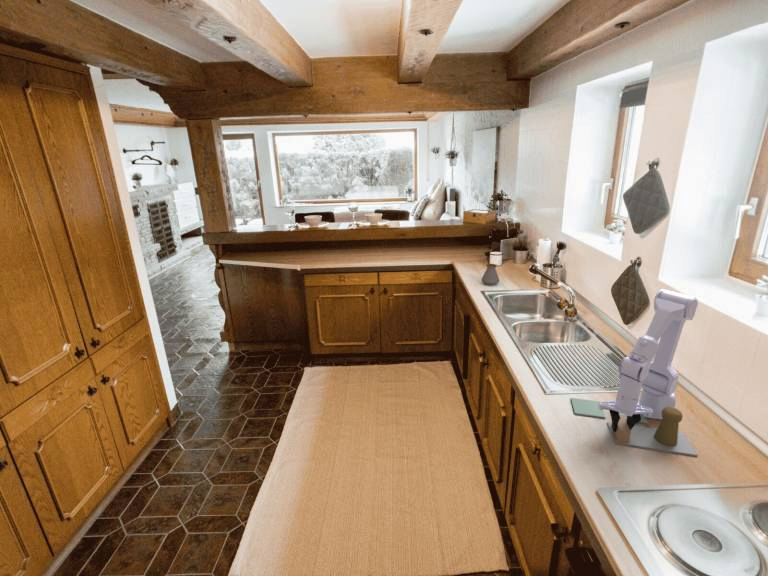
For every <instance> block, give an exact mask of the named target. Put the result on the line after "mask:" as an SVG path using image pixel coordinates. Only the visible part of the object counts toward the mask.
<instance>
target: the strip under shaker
mask: <svg viewBox="0 0 768 576" xmlns="http://www.w3.org/2000/svg"><path fill="white" fill-rule="evenodd" d="M619 416H620V420H619V422H618V425H617V430H616V432H614V431H613V429H612V421H609V422H608V421H607V422H606V425H607V427H608V430H609V433H610V436H611V438H612V441H613V443H614V445H618V446H625V447H632V448H638V449H645V450H651V451H658V452H665V453H670V454H678V455H684V456H691V457H698V452H696V450H695V448H694V446H693V445H692V443H691V442H690V440H689V438H688V437H687V436H686V434H685V432H682V431H678V438H677V445H676V446H666V445H663V444H661V443H659V442H658V441H656V440H655V438H654V434H655V432H656V430H657V428H653V427H646V426H640V425H639V426H638V425H635V426H634V427H633V428H632V429H631V431H630V428H629V426H628V424H627V422H626V419H625V417H624V416H623V415H619Z"/></svg>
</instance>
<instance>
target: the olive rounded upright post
mask: <svg viewBox="0 0 768 576" xmlns="http://www.w3.org/2000/svg"><path fill="white" fill-rule="evenodd" d="M683 417H684V416H683V413H682V411H680V410H679V409H678V408H675V407H674V408H673V407H665V408H664V409H663V410H662V420H661V419H660V422H659V424H658V426H657V428H656V429H657V430H656V432H655V434H654V438H655V440H656V441H658V442H659V443H661V444H663V445H666V446H676V445H677V438H678V432H679V423H681V421H682V420H683Z"/></svg>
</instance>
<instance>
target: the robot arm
mask: <svg viewBox="0 0 768 576" xmlns="http://www.w3.org/2000/svg"><path fill="white" fill-rule="evenodd" d="M698 304H699V303H698V299H697V297H696V296H693V295H692V296H691V295H687V294H683V293H679V292H676V291H672V290H667V289H665V288H661V289H660V290H658V291H657V293H656V294H655V296H654V299H653V310H654V315H653V317H652V319H651V321H650V324H649V326H648V327H647V328H648V329H647V330H646V332H645V335H643V336H639V337H638V339H637V340H636V342H635V344H634V345H633V347H632V349H631V350H630V351H629V354H628V356H625V357H623V358H622V359H621V361H620V363H619V364H618V365H619V366H618V369H617V370H618V379H619V383H618V388H617V393H616V398H615V400H612V401H611V400H609V401H607V400H606V401H601V400H599V405H598V407H599V409H600V410H603V411H604V410H605V411H606V410H607V411H609V414H610V419H611V423H612V429H613V431H614V432H616V430H617V425H618V422H619V420H620V416H619V412H621V413H624V414H625V415H626V416H627V420H626V422H627V424H628V426H629V428H630V431H631V429H632V428H633V427H634V426H637V425H636V424H639V423H638V422H640V421H641V416H643V415H644V417H645V419H654V420H660V421H661V420H662V410H663V409H664V408H665V407H673V408H675V407H676V400H677V399H676V395H675V391H676V389H677V386H678V380H679V373H678V371H676V369H675V368H674V367H673V366H672V364H673V360H674V356H675V353H676V351H677V347H678V344H679V341H680V338H681V335H682V330H683V328H684V325H685V323H686V321H693V319H694V317H695V314H696V311H697V309H698V308H697V307H698ZM658 341H659V342H658ZM640 414H641V416H640ZM642 414H643V415H642Z"/></svg>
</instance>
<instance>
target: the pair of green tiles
mask: <svg viewBox="0 0 768 576" xmlns="http://www.w3.org/2000/svg"><path fill="white" fill-rule="evenodd" d="M570 401H571V405H572V410H573V412H574V413H573V414H574V415H576V416H582V417H591V418H597V419H606V418H607V417H606V414H605V412H604V409H603V410H600V409H599V407H598V405H599V401H600V400H599V401H598V400H590V399H584V398H575V397H571V398H570ZM619 415H623V416H624V417H625V419H626V420H627V416H626V415H625V414H624V413H621V412H619ZM642 415H643V414H642ZM640 416H641V414H640ZM637 424H641V425H648V422H647V418H646V417H644V415H643V416H641V421H640V422H638V423H637Z"/></svg>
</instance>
